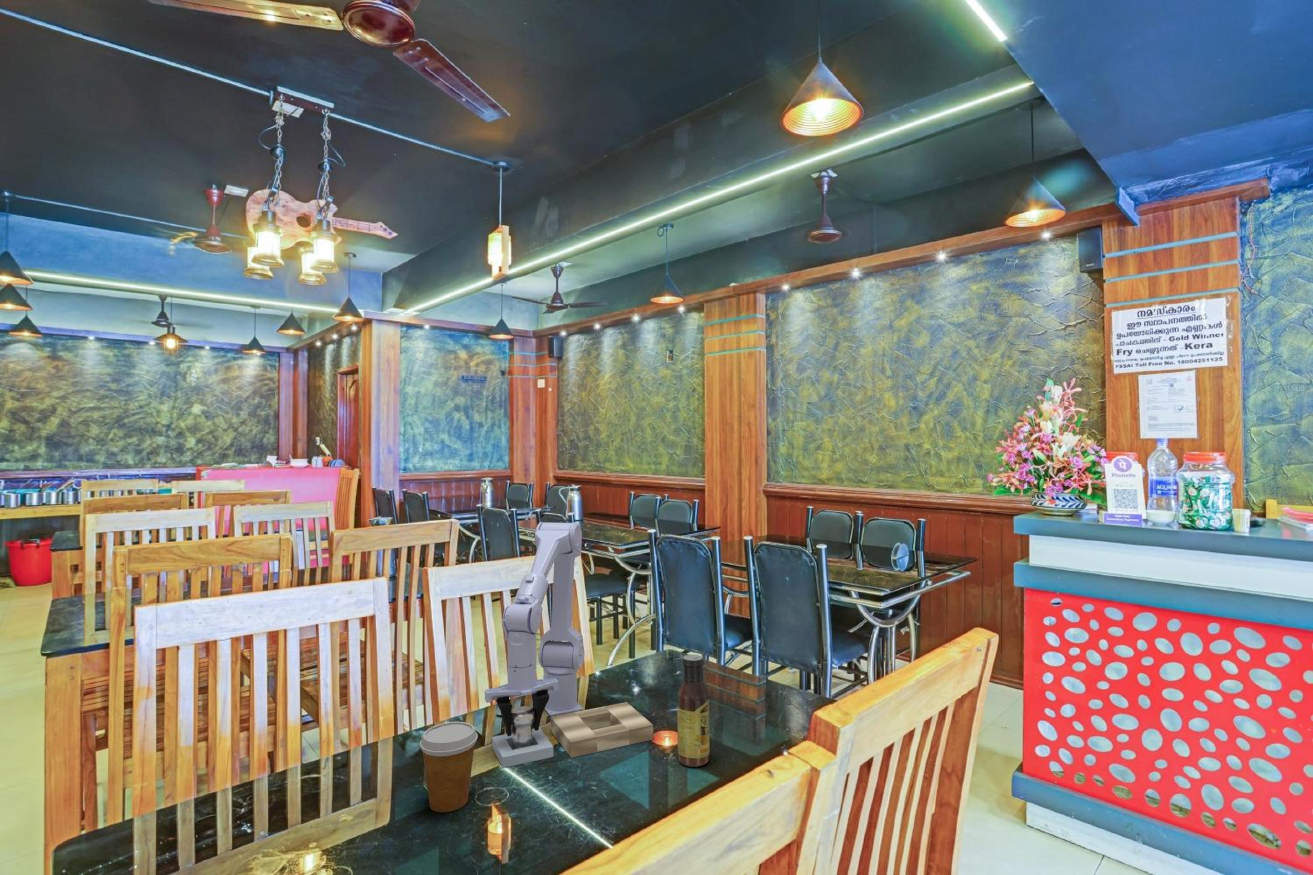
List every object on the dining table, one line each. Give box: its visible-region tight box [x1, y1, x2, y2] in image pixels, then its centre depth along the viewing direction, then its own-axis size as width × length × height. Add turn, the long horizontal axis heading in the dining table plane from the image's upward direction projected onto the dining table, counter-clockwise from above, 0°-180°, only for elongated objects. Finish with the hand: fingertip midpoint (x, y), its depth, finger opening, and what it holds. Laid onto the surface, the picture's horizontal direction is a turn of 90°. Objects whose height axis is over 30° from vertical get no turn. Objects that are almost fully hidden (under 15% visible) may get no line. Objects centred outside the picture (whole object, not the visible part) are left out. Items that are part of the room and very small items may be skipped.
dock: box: [550, 701, 654, 758], centre depth 135 cm, size 14×18×3 cm
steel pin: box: [511, 705, 535, 750], centre depth 128 cm, size 5×5×8 cm
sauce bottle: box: [676, 654, 711, 768], centre depth 124 cm, size 7×6×20 cm
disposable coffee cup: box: [419, 721, 479, 813], centre depth 109 cm, size 10×10×12 cm
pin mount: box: [491, 727, 554, 769], centre depth 128 cm, size 10×10×2 cm
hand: (522, 731), depth 128 cm, fingers closed on steel pin, 5 cm apart
